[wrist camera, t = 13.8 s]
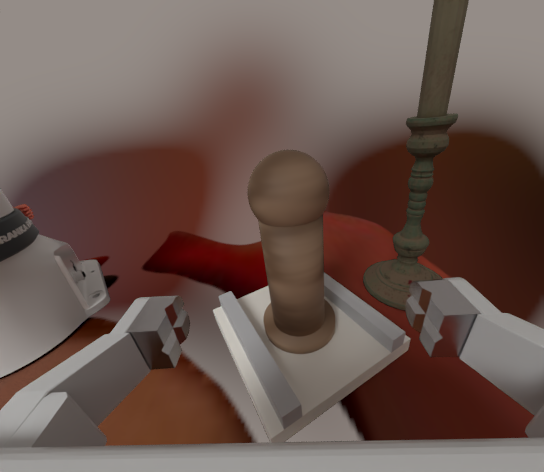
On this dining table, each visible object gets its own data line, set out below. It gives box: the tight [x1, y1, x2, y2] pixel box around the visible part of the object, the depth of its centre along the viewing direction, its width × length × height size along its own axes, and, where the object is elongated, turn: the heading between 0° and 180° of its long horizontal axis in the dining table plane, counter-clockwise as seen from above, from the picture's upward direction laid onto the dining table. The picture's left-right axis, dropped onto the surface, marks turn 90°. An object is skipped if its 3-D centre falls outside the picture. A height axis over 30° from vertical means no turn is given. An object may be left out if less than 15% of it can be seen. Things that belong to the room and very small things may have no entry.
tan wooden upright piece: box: [248, 150, 335, 354], centre depth 20 cm, size 7×7×16 cm
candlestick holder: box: [363, 0, 468, 310], centre depth 22 cm, size 9×9×30 cm
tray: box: [213, 273, 411, 443], centre depth 24 cm, size 14×14×3 cm
